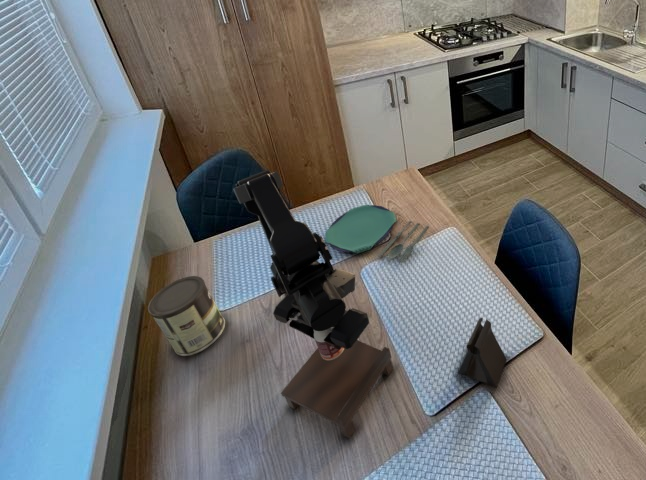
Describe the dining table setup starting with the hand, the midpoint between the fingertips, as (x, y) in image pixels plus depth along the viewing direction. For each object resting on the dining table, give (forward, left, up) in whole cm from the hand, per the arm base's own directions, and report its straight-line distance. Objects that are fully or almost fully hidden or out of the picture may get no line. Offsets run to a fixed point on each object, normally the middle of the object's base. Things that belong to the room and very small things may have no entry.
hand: (331, 343), depth 82 cm
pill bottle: (0, 0, -2) cm, 2 cm away
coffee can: (-39, -5, -11) cm, 41 cm away
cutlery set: (-20, +36, -11) cm, 43 cm away
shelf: (+2, -2, -11) cm, 11 cm away
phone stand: (+28, +12, -11) cm, 32 cm away
